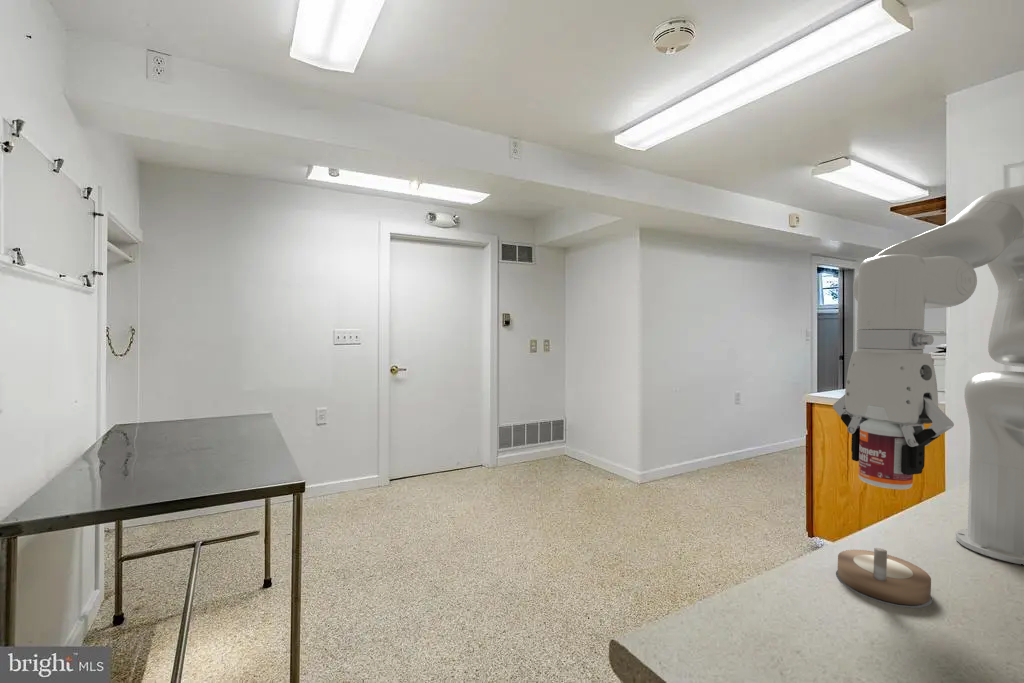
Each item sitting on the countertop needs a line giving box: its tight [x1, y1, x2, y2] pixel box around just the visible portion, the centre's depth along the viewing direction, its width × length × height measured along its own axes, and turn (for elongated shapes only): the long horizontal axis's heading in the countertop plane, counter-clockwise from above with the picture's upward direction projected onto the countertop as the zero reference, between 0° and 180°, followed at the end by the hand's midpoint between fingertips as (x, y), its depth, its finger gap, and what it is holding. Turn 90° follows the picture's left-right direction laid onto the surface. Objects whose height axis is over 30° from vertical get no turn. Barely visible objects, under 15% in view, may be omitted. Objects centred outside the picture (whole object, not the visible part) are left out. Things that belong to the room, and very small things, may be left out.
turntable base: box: [835, 569, 933, 609], centre depth 68 cm, size 11×11×2 cm
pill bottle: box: [858, 405, 914, 490], centre depth 68 cm, size 6×6×11 cm
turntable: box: [837, 547, 932, 605], centre depth 68 cm, size 11×11×6 cm
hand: (885, 465), depth 68 cm, fingers closed on pill bottle, 6 cm apart
